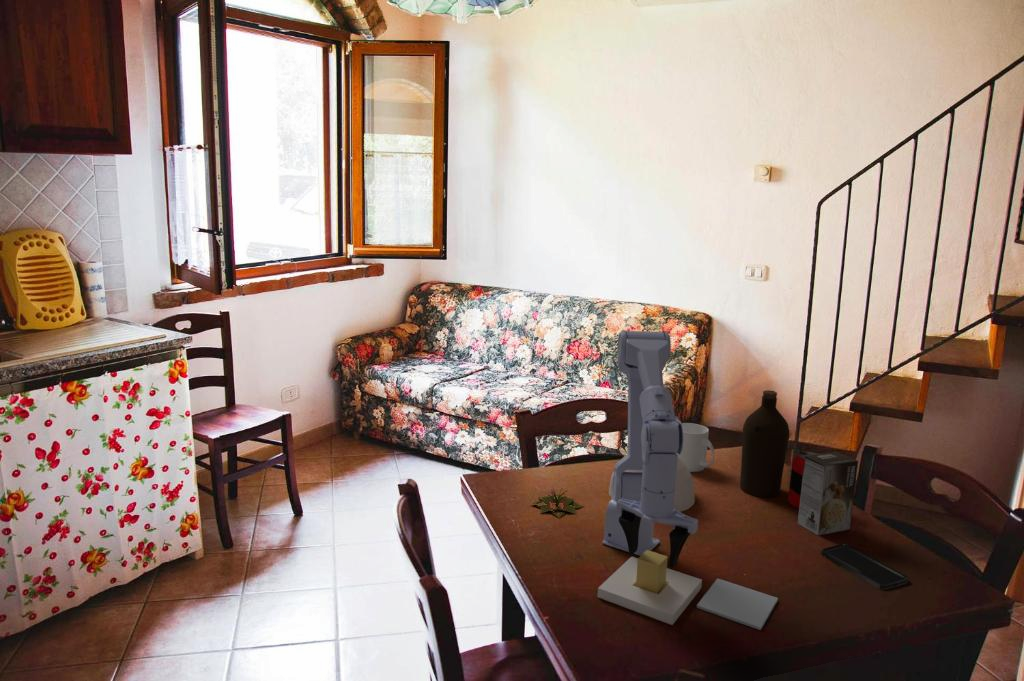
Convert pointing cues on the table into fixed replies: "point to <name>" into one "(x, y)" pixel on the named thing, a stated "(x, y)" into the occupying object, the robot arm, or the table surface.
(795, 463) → the soda can
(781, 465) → the olive oil
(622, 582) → the pocket holder
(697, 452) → the mug
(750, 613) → the mat
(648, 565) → the block
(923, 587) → the table surface
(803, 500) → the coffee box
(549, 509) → the green leafy plant
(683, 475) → the kettle
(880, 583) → the phone
